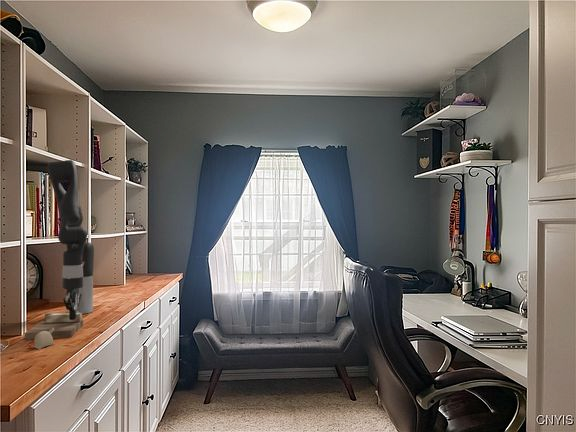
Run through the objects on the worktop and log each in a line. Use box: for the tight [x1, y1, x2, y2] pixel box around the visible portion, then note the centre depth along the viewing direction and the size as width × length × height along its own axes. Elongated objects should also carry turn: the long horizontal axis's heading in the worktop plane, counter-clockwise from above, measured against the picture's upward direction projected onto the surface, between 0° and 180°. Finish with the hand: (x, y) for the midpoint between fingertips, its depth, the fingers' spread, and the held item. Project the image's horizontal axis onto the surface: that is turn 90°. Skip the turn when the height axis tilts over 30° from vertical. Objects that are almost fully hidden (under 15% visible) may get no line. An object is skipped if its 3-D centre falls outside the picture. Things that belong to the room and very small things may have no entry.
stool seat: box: [24, 310, 84, 341], centre depth 178 cm, size 20×16×6 cm
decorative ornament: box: [33, 328, 56, 350], centre depth 159 cm, size 4×8×5 cm, turn 158°
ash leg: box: [44, 312, 83, 323], centre depth 184 cm, size 14×3×3 cm, turn 98°
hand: (72, 319), depth 182 cm, fingers closed
